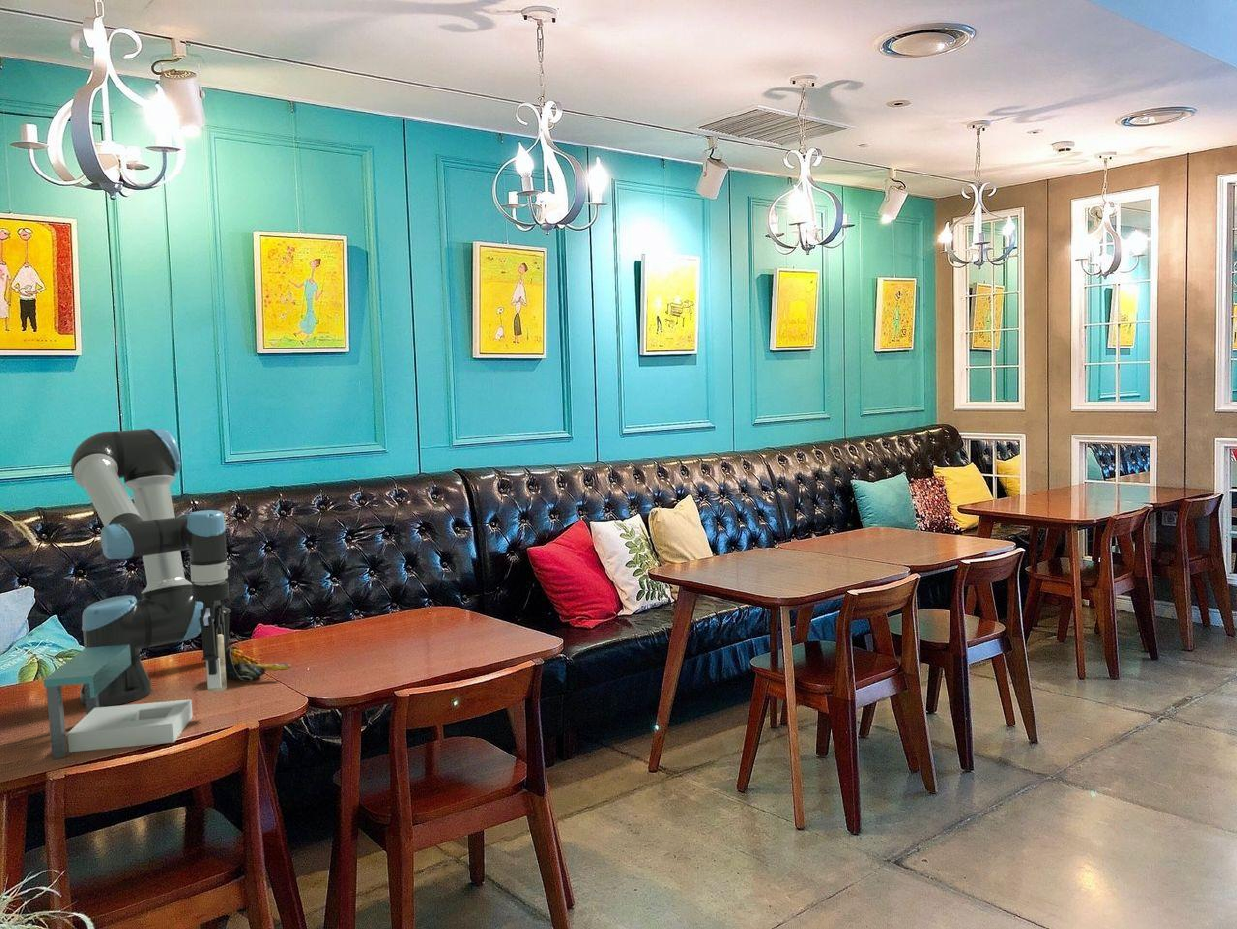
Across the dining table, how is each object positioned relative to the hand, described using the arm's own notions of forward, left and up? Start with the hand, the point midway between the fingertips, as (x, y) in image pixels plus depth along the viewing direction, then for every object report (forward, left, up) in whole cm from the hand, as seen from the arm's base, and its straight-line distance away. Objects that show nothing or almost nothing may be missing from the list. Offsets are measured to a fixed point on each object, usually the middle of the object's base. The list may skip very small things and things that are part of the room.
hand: (217, 684), depth 219 cm
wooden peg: (0, 0, -1) cm, 1 cm away
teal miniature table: (+8, -23, -7) cm, 25 cm away
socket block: (+8, -16, -7) cm, 19 cm away
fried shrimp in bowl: (-27, +2, -7) cm, 28 cm away
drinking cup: (-46, -10, -7) cm, 48 cm away
